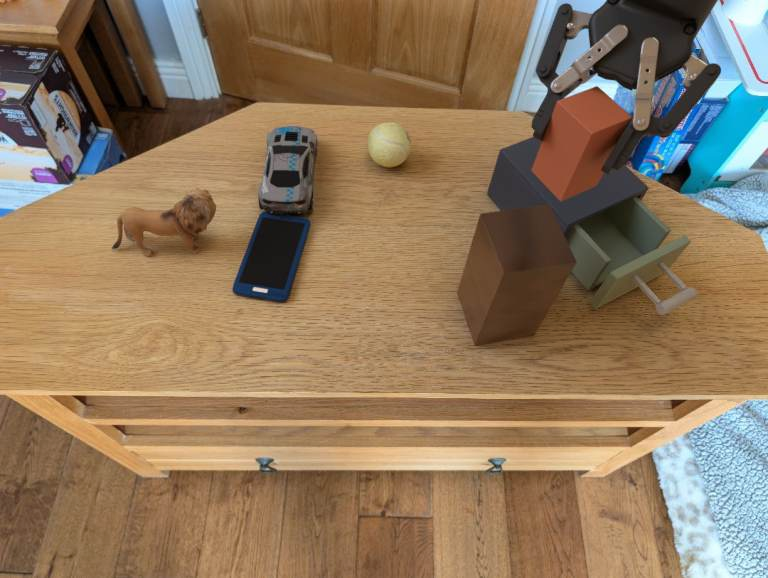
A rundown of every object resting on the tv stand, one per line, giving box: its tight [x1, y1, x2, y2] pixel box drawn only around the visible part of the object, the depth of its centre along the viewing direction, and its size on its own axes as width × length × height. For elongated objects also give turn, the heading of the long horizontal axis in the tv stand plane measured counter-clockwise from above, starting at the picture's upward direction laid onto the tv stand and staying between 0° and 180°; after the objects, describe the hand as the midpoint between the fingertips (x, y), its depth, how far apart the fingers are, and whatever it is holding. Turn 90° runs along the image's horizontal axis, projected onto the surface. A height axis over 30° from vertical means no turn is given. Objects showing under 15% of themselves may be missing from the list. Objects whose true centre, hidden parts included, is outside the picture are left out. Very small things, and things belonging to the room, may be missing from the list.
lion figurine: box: [111, 187, 217, 258], centre depth 72 cm, size 15×5×9 cm, turn 103°
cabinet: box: [486, 136, 650, 238], centre depth 78 cm, size 15×14×9 cm
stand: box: [456, 204, 577, 346], centre depth 65 cm, size 8×8×16 cm
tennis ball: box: [365, 121, 412, 168], centre depth 83 cm, size 6×7×7 cm
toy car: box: [258, 125, 319, 215], centre depth 81 cm, size 8×17×5 cm, turn 1°
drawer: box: [566, 197, 698, 316], centre depth 73 cm, size 19×12×7 cm, turn 29°
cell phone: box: [231, 211, 312, 303], centre depth 75 cm, size 7×14×1 cm, turn 171°
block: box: [532, 85, 633, 201], centre depth 49 cm, size 4×4×8 cm
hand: (571, 154), depth 48 cm, fingers closed on block, 6 cm apart
